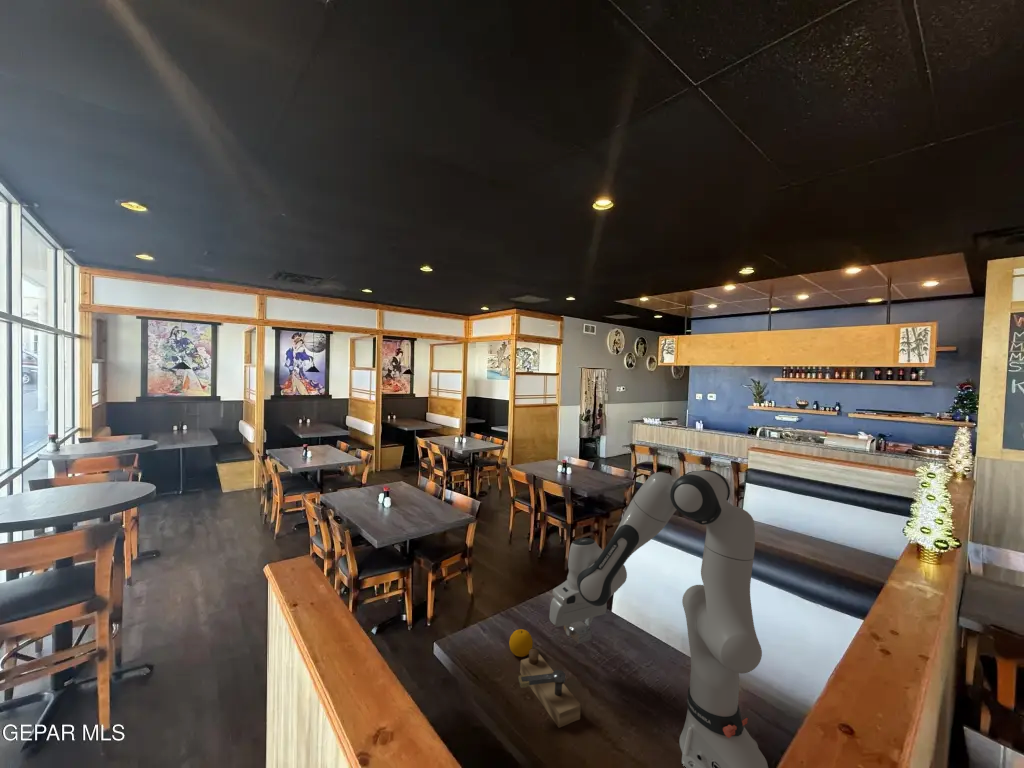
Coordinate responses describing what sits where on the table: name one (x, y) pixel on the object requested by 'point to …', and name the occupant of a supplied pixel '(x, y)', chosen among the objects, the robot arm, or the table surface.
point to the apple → (520, 643)
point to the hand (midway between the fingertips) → (577, 632)
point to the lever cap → (580, 632)
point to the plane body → (551, 691)
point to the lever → (542, 679)
